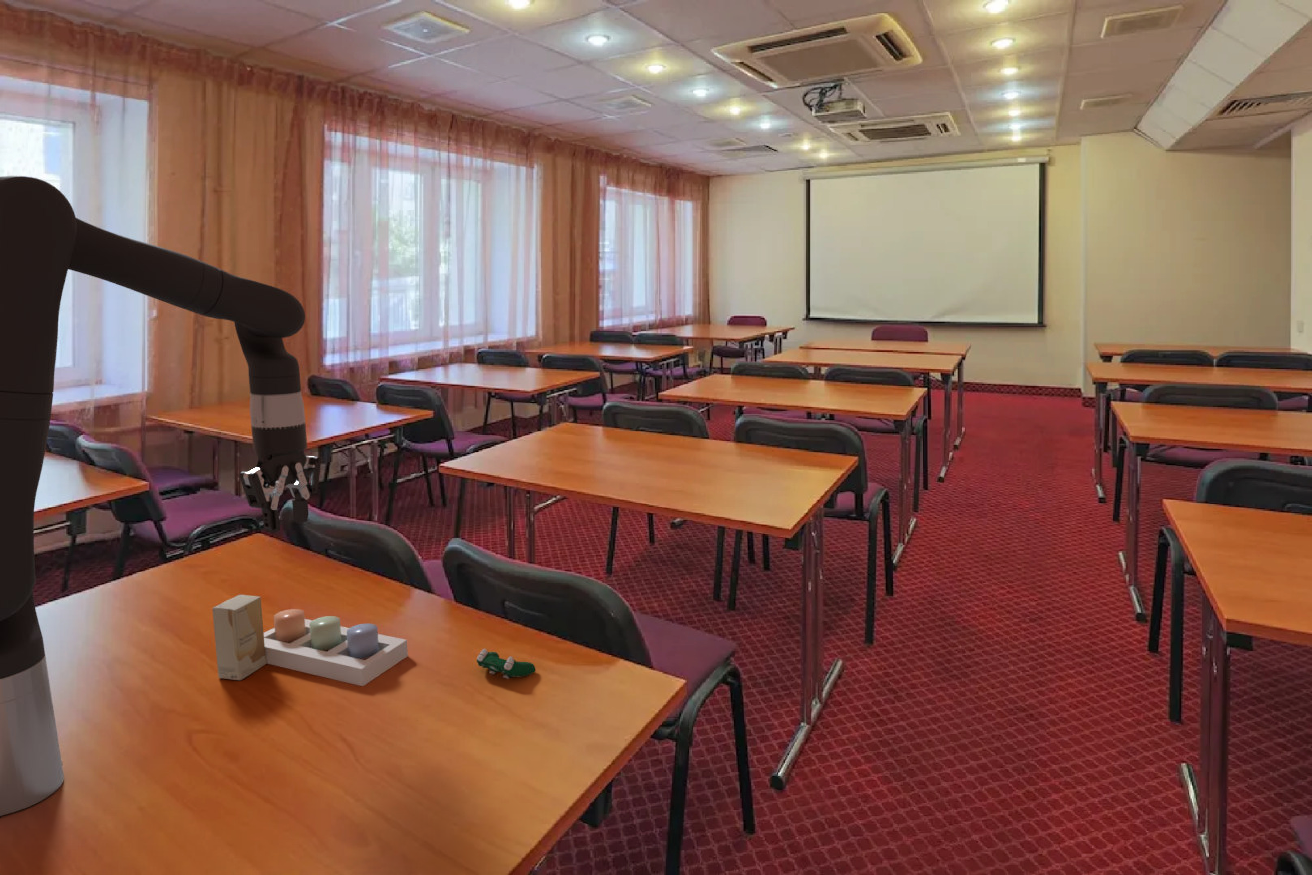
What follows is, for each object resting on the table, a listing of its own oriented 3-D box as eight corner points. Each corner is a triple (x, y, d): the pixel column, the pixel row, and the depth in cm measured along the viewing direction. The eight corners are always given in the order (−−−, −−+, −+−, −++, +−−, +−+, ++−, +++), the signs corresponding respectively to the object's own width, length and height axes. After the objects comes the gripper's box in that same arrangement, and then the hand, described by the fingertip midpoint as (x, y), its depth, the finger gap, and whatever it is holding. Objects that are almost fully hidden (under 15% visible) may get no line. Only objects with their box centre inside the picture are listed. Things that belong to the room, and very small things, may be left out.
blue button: (365, 660, 123) (363, 638, 122) (341, 655, 125) (340, 633, 124) (385, 648, 127) (383, 626, 127) (362, 643, 129) (361, 621, 128)
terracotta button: (290, 644, 128) (288, 622, 128) (269, 639, 130) (267, 617, 129) (312, 632, 133) (310, 611, 132) (291, 628, 134) (289, 607, 134)
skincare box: (240, 681, 121) (233, 610, 118) (217, 678, 122) (209, 608, 119) (268, 663, 127) (262, 595, 125) (246, 660, 128) (239, 592, 125)
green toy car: (485, 674, 128) (467, 662, 123) (495, 653, 129) (478, 641, 125) (529, 688, 123) (512, 676, 119) (538, 666, 125) (522, 654, 121)
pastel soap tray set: (362, 686, 120) (361, 668, 119) (246, 658, 128) (244, 642, 128) (407, 655, 130) (406, 639, 129) (297, 632, 138) (295, 616, 138)
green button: (326, 652, 126) (325, 630, 125) (304, 647, 127) (302, 625, 126) (347, 640, 130) (346, 618, 129) (326, 635, 132) (324, 614, 131)
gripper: (257, 430, 108) (268, 543, 111) (332, 416, 121) (339, 517, 124) (219, 427, 110) (230, 537, 114) (296, 413, 124) (304, 512, 127)
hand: (287, 526), depth 119 cm, fingers open, 5 cm apart
